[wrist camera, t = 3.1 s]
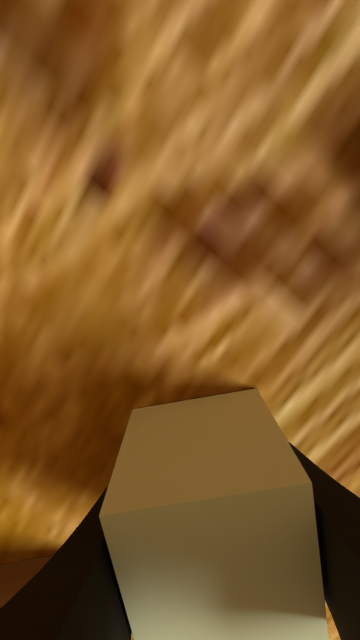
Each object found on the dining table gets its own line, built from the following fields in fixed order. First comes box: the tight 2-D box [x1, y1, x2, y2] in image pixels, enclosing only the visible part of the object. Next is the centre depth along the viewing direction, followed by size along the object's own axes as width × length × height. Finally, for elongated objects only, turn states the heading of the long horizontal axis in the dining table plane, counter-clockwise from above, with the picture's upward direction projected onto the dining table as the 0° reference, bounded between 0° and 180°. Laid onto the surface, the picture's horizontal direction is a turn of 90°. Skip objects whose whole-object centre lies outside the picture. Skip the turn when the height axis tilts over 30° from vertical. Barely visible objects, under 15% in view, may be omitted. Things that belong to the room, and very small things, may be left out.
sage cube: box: [99, 388, 329, 640], centre depth 10 cm, size 5×5×5 cm
